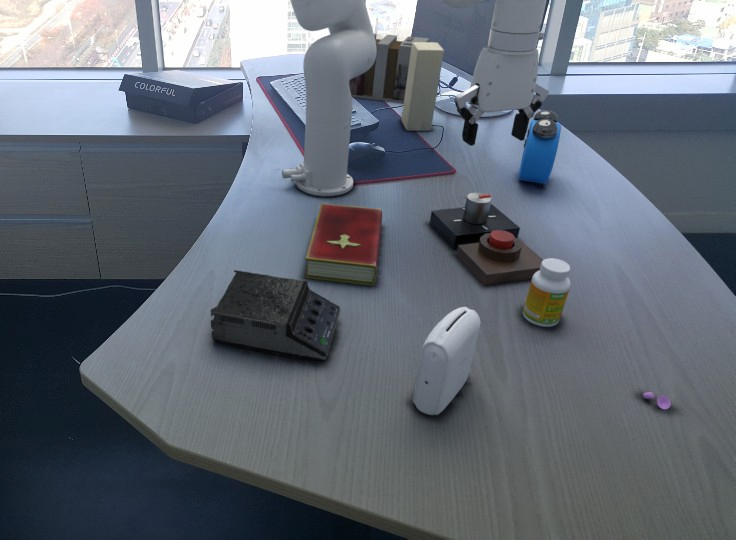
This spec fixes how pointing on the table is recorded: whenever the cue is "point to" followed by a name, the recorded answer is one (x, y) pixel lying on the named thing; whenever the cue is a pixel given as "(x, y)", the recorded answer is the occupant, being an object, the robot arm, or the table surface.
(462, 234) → the control panel
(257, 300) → the electronic device
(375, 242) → the hardcover book
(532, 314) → the supplement bottle
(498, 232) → the button
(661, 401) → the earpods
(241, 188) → the table surface
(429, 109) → the toy refrigerator
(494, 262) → the button block
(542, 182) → the alarm clock
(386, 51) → the bookend
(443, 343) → the photo printer
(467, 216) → the timer knob
